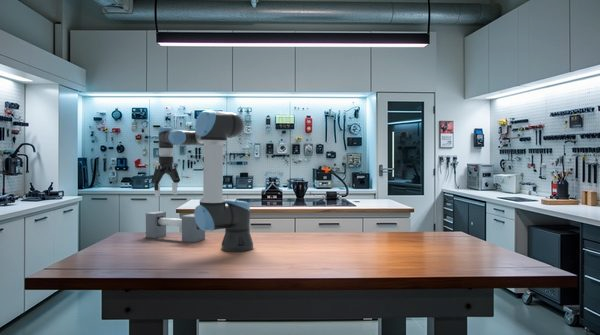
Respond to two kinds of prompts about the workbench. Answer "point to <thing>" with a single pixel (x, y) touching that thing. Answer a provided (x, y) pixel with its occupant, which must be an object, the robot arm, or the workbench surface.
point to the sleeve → (191, 229)
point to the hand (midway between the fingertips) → (166, 195)
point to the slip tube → (169, 221)
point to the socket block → (155, 225)
